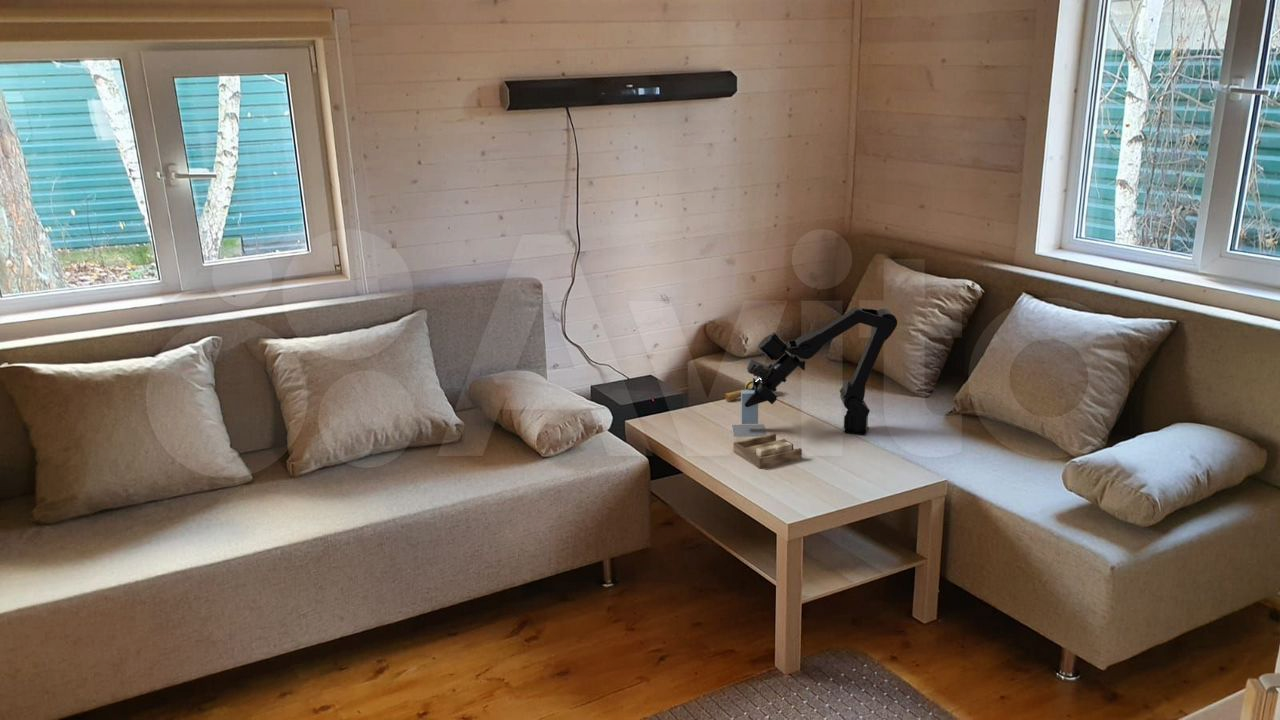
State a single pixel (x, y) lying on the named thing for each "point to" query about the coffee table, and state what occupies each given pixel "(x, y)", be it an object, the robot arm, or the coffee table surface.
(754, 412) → the light blue block
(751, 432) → the mat
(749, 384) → the kendama
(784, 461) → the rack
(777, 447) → the offcut
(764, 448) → the offcut
